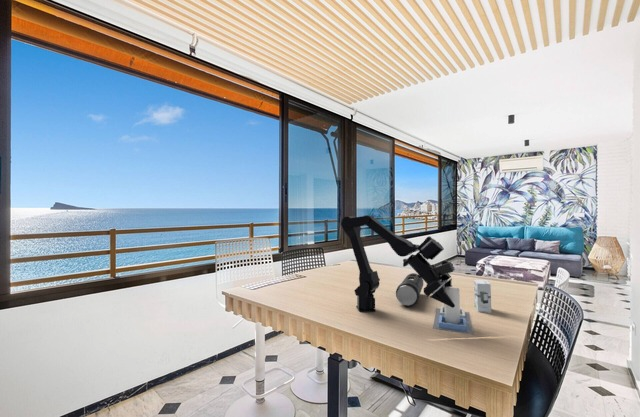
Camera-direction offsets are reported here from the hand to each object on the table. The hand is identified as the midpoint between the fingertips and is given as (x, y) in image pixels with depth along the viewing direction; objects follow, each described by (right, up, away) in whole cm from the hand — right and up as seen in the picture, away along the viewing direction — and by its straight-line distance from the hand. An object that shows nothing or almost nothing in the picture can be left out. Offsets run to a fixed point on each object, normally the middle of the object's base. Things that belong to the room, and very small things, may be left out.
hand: (456, 303), depth 98 cm
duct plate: (+1, -8, +6) cm, 10 cm away
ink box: (+19, -9, +18) cm, 27 cm away
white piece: (-1, -8, +1) cm, 8 cm away
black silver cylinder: (-5, -10, +32) cm, 34 cm away
